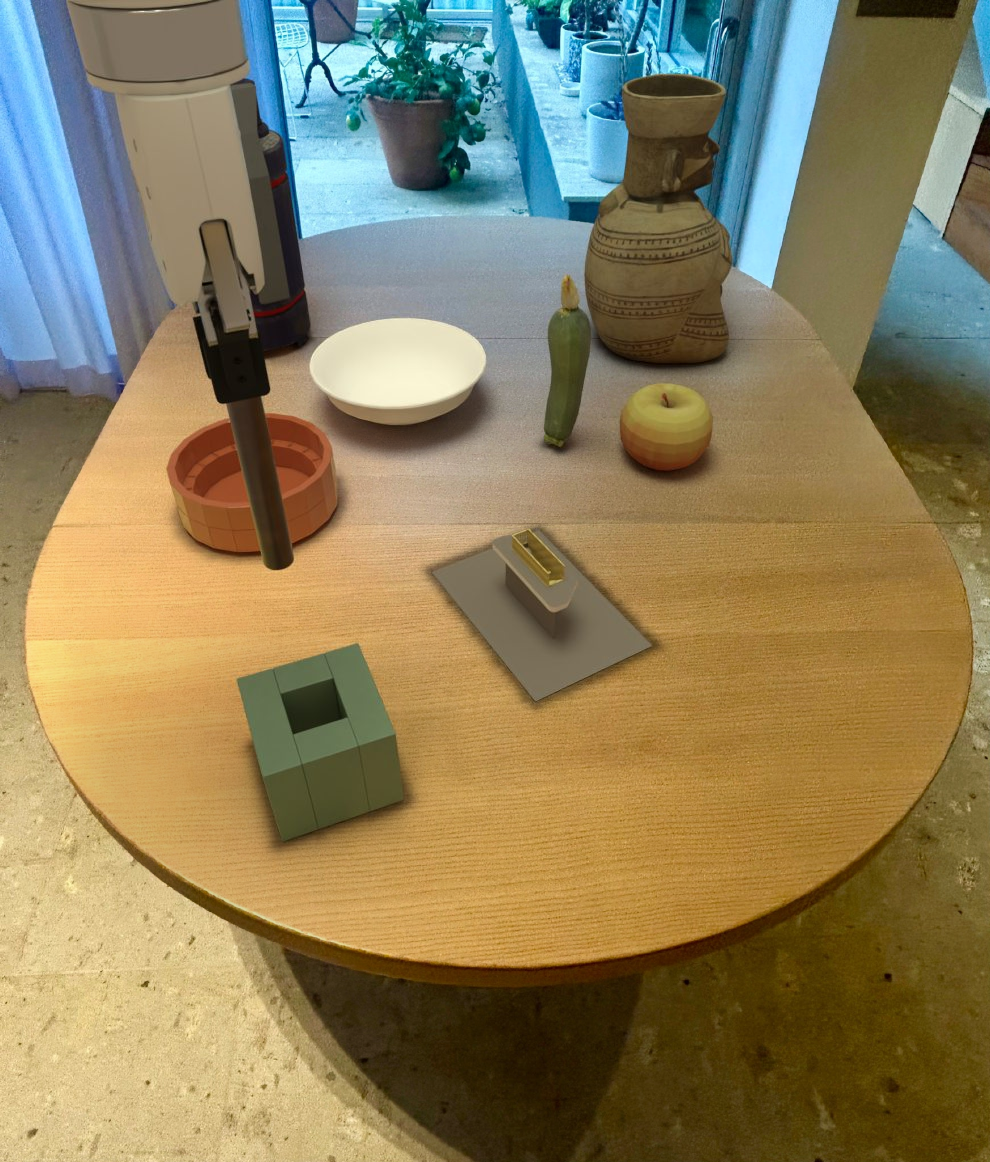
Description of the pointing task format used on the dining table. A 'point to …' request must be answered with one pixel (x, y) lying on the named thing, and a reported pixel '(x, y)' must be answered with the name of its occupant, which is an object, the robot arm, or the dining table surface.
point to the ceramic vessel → (662, 230)
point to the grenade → (272, 227)
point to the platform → (539, 613)
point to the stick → (261, 479)
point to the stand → (322, 740)
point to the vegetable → (566, 364)
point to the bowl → (398, 369)
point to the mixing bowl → (217, 487)
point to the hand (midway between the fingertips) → (238, 383)
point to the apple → (666, 426)
